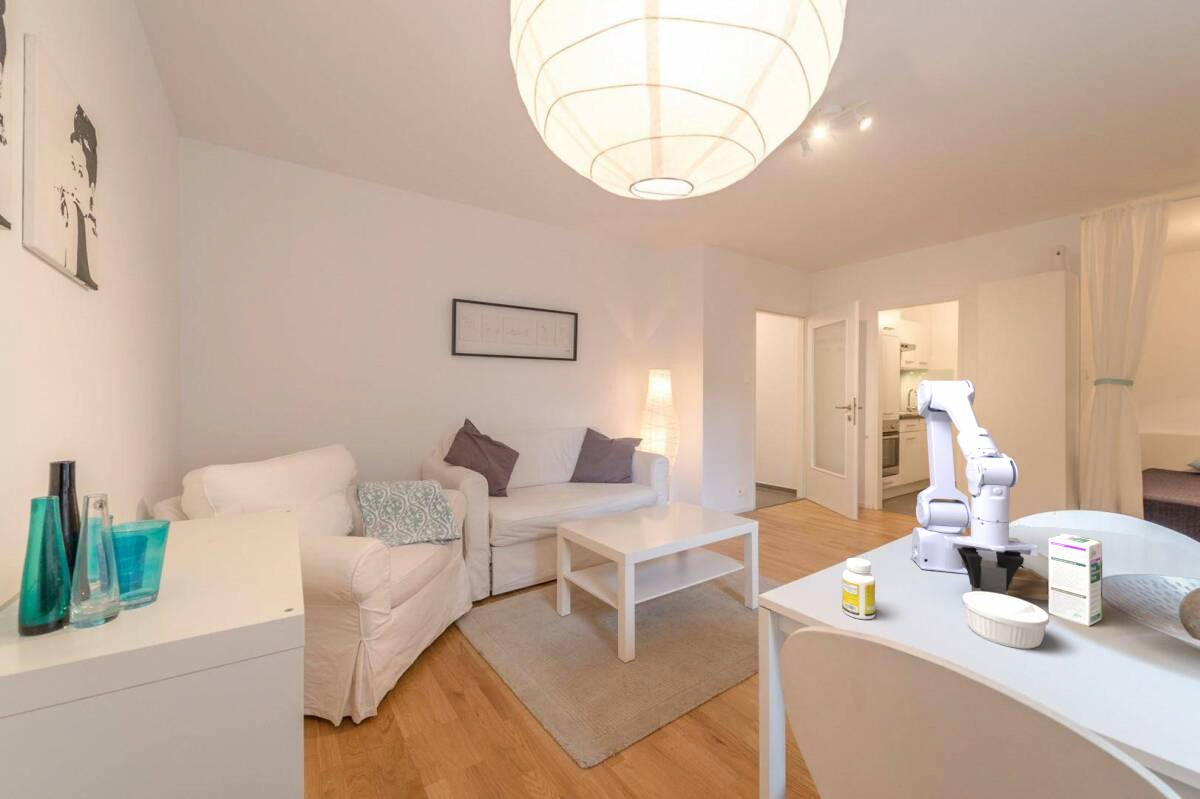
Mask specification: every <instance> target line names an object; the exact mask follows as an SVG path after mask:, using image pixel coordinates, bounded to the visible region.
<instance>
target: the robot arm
mask: <svg viewBox="0 0 1200 799" xmlns="http://www.w3.org/2000/svg"><path fill="white" fill-rule="evenodd" d="M975 397H976V389H975V386H974V384H973V383H972V382H971V381H970V380H969V379H963V380H928V379H924V380H922V381H921V382H920V383H919V385H918V387H917V391H916V401H917V402H916V404H917V411H918V415H919V416H921V417H922V418H925V424H926V426H925V427H926V436H927V453H928V454H927V456H928V469H929V471H928V472H929V486H928V487H927V488H925V489H924V490H921V491H920V492H919V493H918V494H917V500H916V506H915V515H916V519H917V521H918V523H919V524H920V525H921V527H920V526H919V527H918V526H917V527H916V526H915V527H914V528H913V530H912V534H911V555H910V558H911V560H912V561H913V562H914V561H915V562H916V563H915V562H914V563H915V564H916V565H917V566H918V567H919V568H920V569H922V570H927V571H936V572H937V571H939V572H946V573H957V574H958V573H959V574H967V575H968V579H969V580H968V581H969V585H971V587H972V586H973V587H974V588H979V571H980V564H981V560H983V557H982V556H981V554H980V555H979V552H978V551H984V552H995V555H996V561H997V562H998V563H1000V564H1001V565H1002V566H1004V567H1005V568H1007V572H1006V591H1008V587H1009V585H1010V582H1011V580H1012V578H1013V576H1014V574H1015V572H1016V571H1017V570H1018V568H1021V567H1022V566H1021V565H1022V564H1023V562H1024V558H1023V557H1021V556H1020V555H1021V554H1028V555H1031V556H1038V552H1039V546H1038V545H1037V544H1034V543H1033V542H1023V541H1021V542H1017V541H1010V540H1009V538H1010V537H1009V536H1010V501H1011V499H1010V493H1011V492H1010V490H1011V488H1013V487H1015V486H1016V484H1017V481H1018V477H1019V472H1018V468H1017V464H1016V463H1015V461H1014V459H1013V458H1011V457H1010V456H1007V454H1006V453H1002V452H1001V450H1000V448H999V447H998V445H997V444H996V442H995V440H994V438H993V436H992V434H991V432H990V431H989V430H988V429H987V428H983V427H981V426H980V423H979V421H978V418H977V416H976V413H975V410H974V407H973V405H974V401H975ZM952 423H953V424H954V425H955V427H956V429H957V430H958V432H959V433H958V435H957V436H956V441H957V444H958V446H959V447H960V450H961V452H962V455H963V457H964V459H965V461H966V466H965V477H966V480H967V484H968V486H967V488H968V493H970V494H971V499H969V497H968V496H967V495H966V494H965V493H963V492H961V491H960V490H959V489H958V488H956V473H955V472H956V471H955V462H954V461H955V460H954V446H953V445H954V444H953V433H952V432H953V431H952ZM934 499H935V500H934ZM936 499H937V500H936ZM938 499H939V500H938ZM944 500H945V501H944ZM946 500H947V501H946ZM948 500H949V501H948ZM950 500H951V501H950ZM970 500H971V503H970ZM970 504H971V505H970ZM969 529H970V535H967V536H963V533H965V534H966V533H967V530H969ZM963 564H964V565H963ZM964 566H965V567H964Z"/></svg>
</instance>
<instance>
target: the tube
mask: <svg viewBox="0 0 1200 799" xmlns="http://www.w3.org/2000/svg"><path fill="white" fill-rule="evenodd" d="M1009 540H1010V541H1017V542H1022V541H1021V540H1019V539H1018V538H1017V537H1016V538H1015V537H1009ZM1020 556H1021V557H1023V558H1024V562H1023V564H1022V565H1021V566H1020V567H1022V566H1023V569H1032V570H1033V571H1035V572H1036V573H1038V574H1039V575H1041V576H1042V577H1044V578H1045V579H1047V580H1049V557H1047V556H1046V555H1044V554H1042V553H1040V552H1039V551H1038V556H1031V555H1028V554H1021V555H1020Z"/></svg>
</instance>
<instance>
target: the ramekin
mask: <svg viewBox="0 0 1200 799" xmlns="http://www.w3.org/2000/svg"><path fill="white" fill-rule="evenodd" d="M961 599H962V600H961V601H962V604H963V605H964V610H965V617H966V622H967V625H968V627H969V628H970V630H971V631H973V632H974V633H975V634H976V635H977V636H978V637H981V638H982V639H983V640H987V641H990V642H992V643H994V644H996V645H997V644H998V645H1001V646H1005V647H1008V648H1014V649H1023V650H1030V649H1035V648H1036V647H1038V646H1040V645H1041V644H1042V642H1043V639H1044V635H1045V632H1046V627H1047V626H1048V625H1049V623H1050V616H1049V615H1048V613H1047V612H1046V611H1045V609H1042V608H1041V607H1039V606H1038V605H1036V604H1033V603H1031V602H1029V601H1027V600H1024V599H1022V598H1019V597H1012V596H1008V595H1003V594H998V593H992V592H983V591H974V592H971V591H968V592H966V593H963V595H962V598H961Z"/></svg>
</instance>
